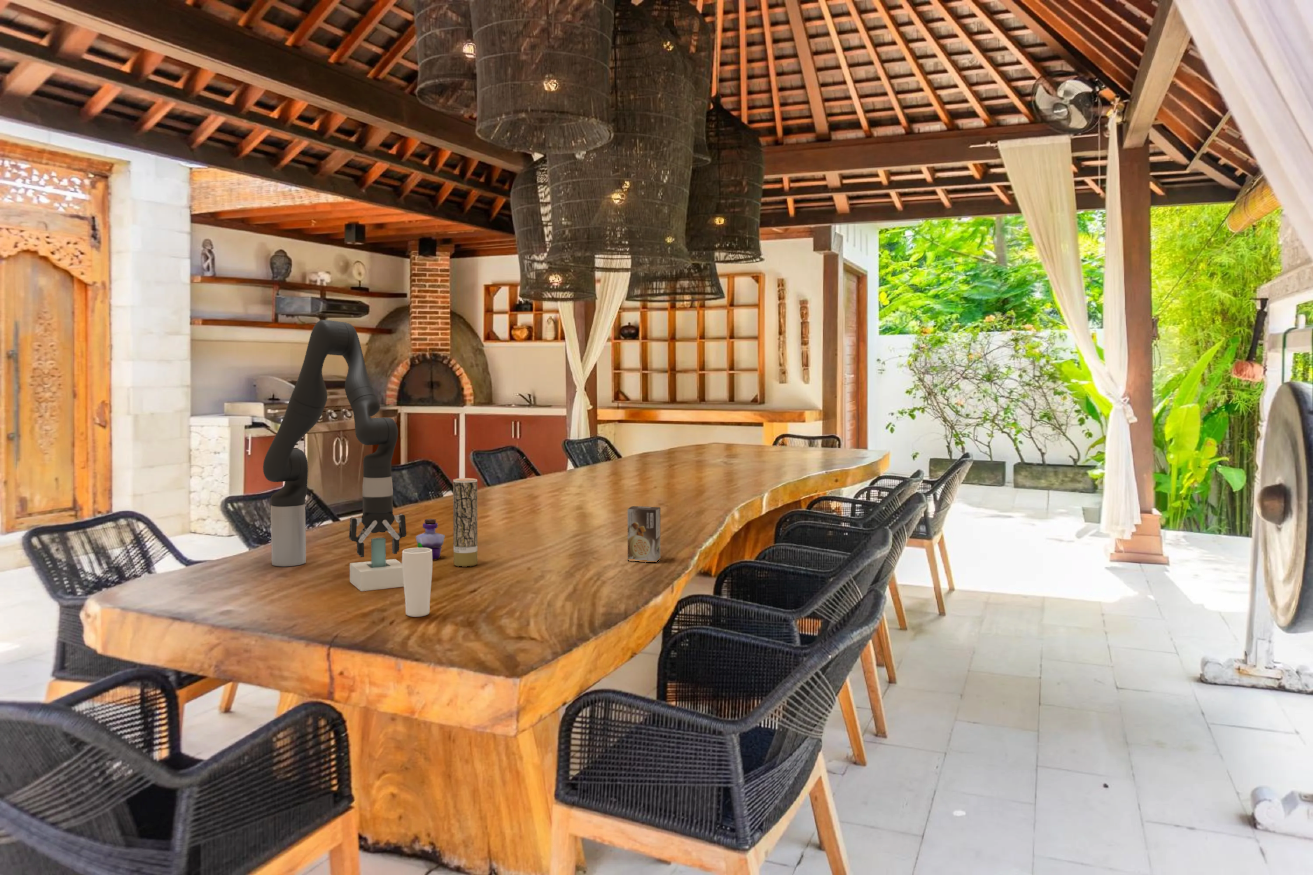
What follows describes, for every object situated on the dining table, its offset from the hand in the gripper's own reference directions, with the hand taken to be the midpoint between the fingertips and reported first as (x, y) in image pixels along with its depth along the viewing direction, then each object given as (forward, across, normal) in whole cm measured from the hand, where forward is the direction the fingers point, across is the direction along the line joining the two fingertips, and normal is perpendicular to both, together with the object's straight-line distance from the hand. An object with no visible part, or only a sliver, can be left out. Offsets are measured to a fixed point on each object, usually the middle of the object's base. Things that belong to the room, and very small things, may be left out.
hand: (378, 555), depth 239 cm
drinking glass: (+8, 0, +35) cm, 36 cm away
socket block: (+8, 0, 0) cm, 8 cm away
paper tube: (+8, -28, -12) cm, 31 cm away
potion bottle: (+8, -22, -26) cm, 35 cm away
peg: (+8, 0, 0) cm, 8 cm away
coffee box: (+8, -77, +7) cm, 78 cm away
